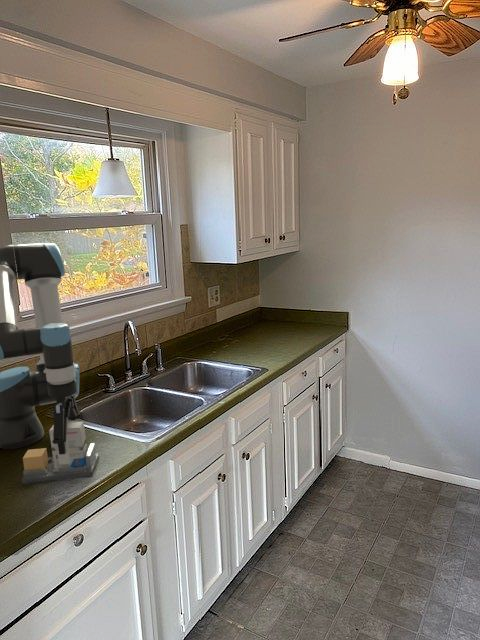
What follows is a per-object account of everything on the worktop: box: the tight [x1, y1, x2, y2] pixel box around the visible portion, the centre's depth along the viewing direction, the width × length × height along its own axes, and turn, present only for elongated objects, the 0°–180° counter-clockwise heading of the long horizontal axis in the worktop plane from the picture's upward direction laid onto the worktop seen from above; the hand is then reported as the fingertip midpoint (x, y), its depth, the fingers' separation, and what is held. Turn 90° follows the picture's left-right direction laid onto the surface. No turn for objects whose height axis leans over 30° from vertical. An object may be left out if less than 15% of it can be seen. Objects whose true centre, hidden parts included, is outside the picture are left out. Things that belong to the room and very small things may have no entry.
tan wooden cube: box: [22, 447, 49, 471], centre depth 136 cm, size 5×5×4 cm
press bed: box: [21, 442, 100, 485], centre depth 137 cm, size 11×18×6 cm, turn 97°
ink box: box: [48, 421, 88, 469], centre depth 136 cm, size 9×5×12 cm, turn 95°
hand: (70, 451), depth 137 cm, fingers open, 13 cm apart
